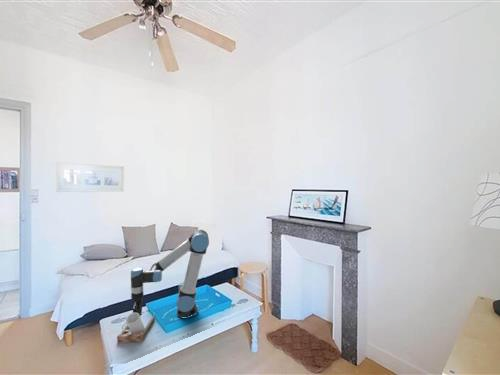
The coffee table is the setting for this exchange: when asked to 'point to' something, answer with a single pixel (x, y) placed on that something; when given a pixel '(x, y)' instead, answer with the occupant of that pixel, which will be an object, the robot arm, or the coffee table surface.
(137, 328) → the mug
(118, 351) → the coffee table surface
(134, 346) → the coffee table surface
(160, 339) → the coffee table surface
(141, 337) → the guide
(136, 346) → the coffee table surface
